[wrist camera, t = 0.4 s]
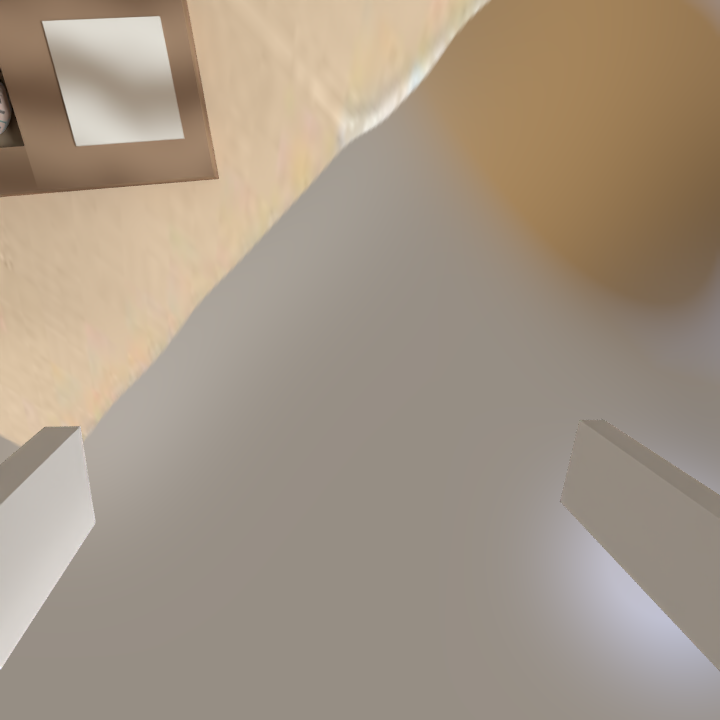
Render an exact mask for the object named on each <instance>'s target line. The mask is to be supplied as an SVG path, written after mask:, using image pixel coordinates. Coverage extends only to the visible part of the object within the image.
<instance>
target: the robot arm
mask: <svg viewBox="0 0 720 720" xmlns="http://www.w3.org/2000/svg"><path fill="white" fill-rule="evenodd" d="M560 502H561V503H562V504H563V505H564V506H565V507H566V508H567V509H568V510H569V511H570V512H571V514H572V515H573V516H574V517H575V518H576V519H577V520H578V521H579V522H580V523H581V524H582V525H583V526H584V527H585V528H586V530H588V532H589V533H590V534H591V535H592V536H593V537H594V538H595V539H596V540H597V541H598V542H599V543H600V544H601V545H602V547H603V548H604V549H605V550H606V551H607V552H608V553H609V554H610V555H611V556H612V557H613V558H614V559H615V560H616V561H617V562H618V564H619V565H621V567H622V568H623V569H624V570H625V571H626V572H627V573H628V574H629V575H630V576H631V577H632V578H633V579H634V580H635V582H636V583H637V584H638V585H639V586H640V587H641V588H642V589H643V590H644V591H645V592H646V593H647V594H648V595H649V596H650V598H651V599H652V600H653V601H654V602H655V603H656V604H657V605H658V606H659V607H660V608H661V609H662V610H663V611H664V612H665V614H667V615H668V617H669V618H670V619H671V620H672V621H673V622H674V623H675V624H676V625H677V626H678V627H679V628H680V629H681V630H682V632H683V633H684V634H685V635H686V636H687V637H688V638H689V639H690V640H691V641H692V642H693V643H694V644H695V645H696V646H697V648H698V649H699V650H700V651H701V652H702V653H703V654H704V655H705V656H706V657H707V658H708V659H709V660H710V661H711V662H712V663H713V665H714V666H715V667H716V668H717V669H718V670H719V671H720V495H719V494H717V493H716V492H714V491H713V490H711V489H710V488H708V487H706V486H705V485H703V484H702V483H700V482H699V481H697V480H696V479H694V478H693V477H691V476H689V475H688V474H686V473H685V472H683V471H682V470H680V469H679V468H677V467H676V466H674V465H672V464H671V463H670V462H668V461H666V460H665V459H663V458H662V457H660V456H659V455H657V454H656V453H654V452H653V451H651V450H650V449H648V448H647V447H645V446H643V445H642V444H640V443H639V442H637V441H636V440H634V439H633V438H631V437H630V436H628V435H627V434H625V433H623V432H622V431H620V430H619V429H617V428H616V427H614V426H613V425H611V424H610V423H608V422H607V421H605V420H579V424H578V429H577V432H576V437H575V441H574V445H573V449H572V453H571V457H570V462H569V466H568V470H567V474H566V479H565V483H564V487H563V491H562V495H561V499H560ZM94 524H95V517H94V510H93V504H92V497H91V491H90V485H89V478H88V472H87V466H86V460H85V453H84V447H83V440H82V434H81V428H80V426H74V427H44V428H43V429H42V430H41V431H39V432H38V433H37V434H36V435H35V436H33V437H32V438H31V439H30V440H29V441H27V442H26V443H25V444H24V445H23V446H22V447H20V448H19V449H18V450H17V451H16V452H15V453H13V454H12V455H11V456H10V457H9V458H7V459H6V460H5V461H4V462H3V463H1V464H0V669H1V668H2V666H3V665H4V663H5V662H6V660H7V659H8V657H9V655H10V654H11V652H12V651H13V649H14V648H15V646H16V645H17V643H18V642H19V640H20V639H21V637H22V635H23V634H24V632H25V631H26V629H27V628H28V626H29V625H30V623H31V622H32V620H33V618H34V617H35V615H36V614H37V612H38V611H39V609H40V608H41V606H42V605H43V603H44V601H45V600H46V598H47V596H48V595H49V594H50V592H51V591H52V589H53V588H54V586H55V585H56V583H57V581H58V580H59V578H60V577H61V575H62V574H63V572H64V571H65V569H66V568H67V566H68V564H69V563H70V561H71V560H72V558H73V557H74V555H75V554H76V552H77V551H78V549H79V547H80V546H81V544H82V543H83V541H84V539H85V538H86V537H87V535H88V534H89V532H90V530H91V529H92V527H93V526H94Z"/></svg>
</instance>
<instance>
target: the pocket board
mask: <svg viewBox="0 0 720 720" xmlns="http://www.w3.org/2000/svg"><path fill="white" fill-rule="evenodd" d="M0 68H1V71H2V74H3V77H4V80H5V84H6V87H7V90H8V93H9V97H10V100H11V103H12V106H13V110H14V113H15V116H16V119H17V123H18V126H19V129H20V132H21V136H22V139H23V142H24V145H25V146H18V147H4V148H0V197H6V196H18V195H30V194H42V193H54V192H66V191H78V190H90V189H102V188H114V187H126V186H138V185H150V184H162V183H174V182H186V181H198V180H210V179H219V177H218V171H217V166H216V160H215V155H214V149H213V144H212V138H211V133H210V127H209V122H208V116H207V111H206V105H205V100H204V94H203V89H202V83H201V78H200V72H199V66H198V61H197V55H196V50H195V44H194V39H193V33H192V28H191V22H190V17H189V11H188V6H187V0H0Z"/></svg>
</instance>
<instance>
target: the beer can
mask: <svg viewBox="0 0 720 720" xmlns="http://www.w3.org/2000/svg"><path fill="white" fill-rule="evenodd" d="M10 119H11V103H10V99H9V95H8V93H7V91H6V89H5V87H4V85H3V84H2V83H1V81H0V134H1V133H2V132H4V130H5V129H6V128H7V126H8V124H9V122H10Z"/></svg>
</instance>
